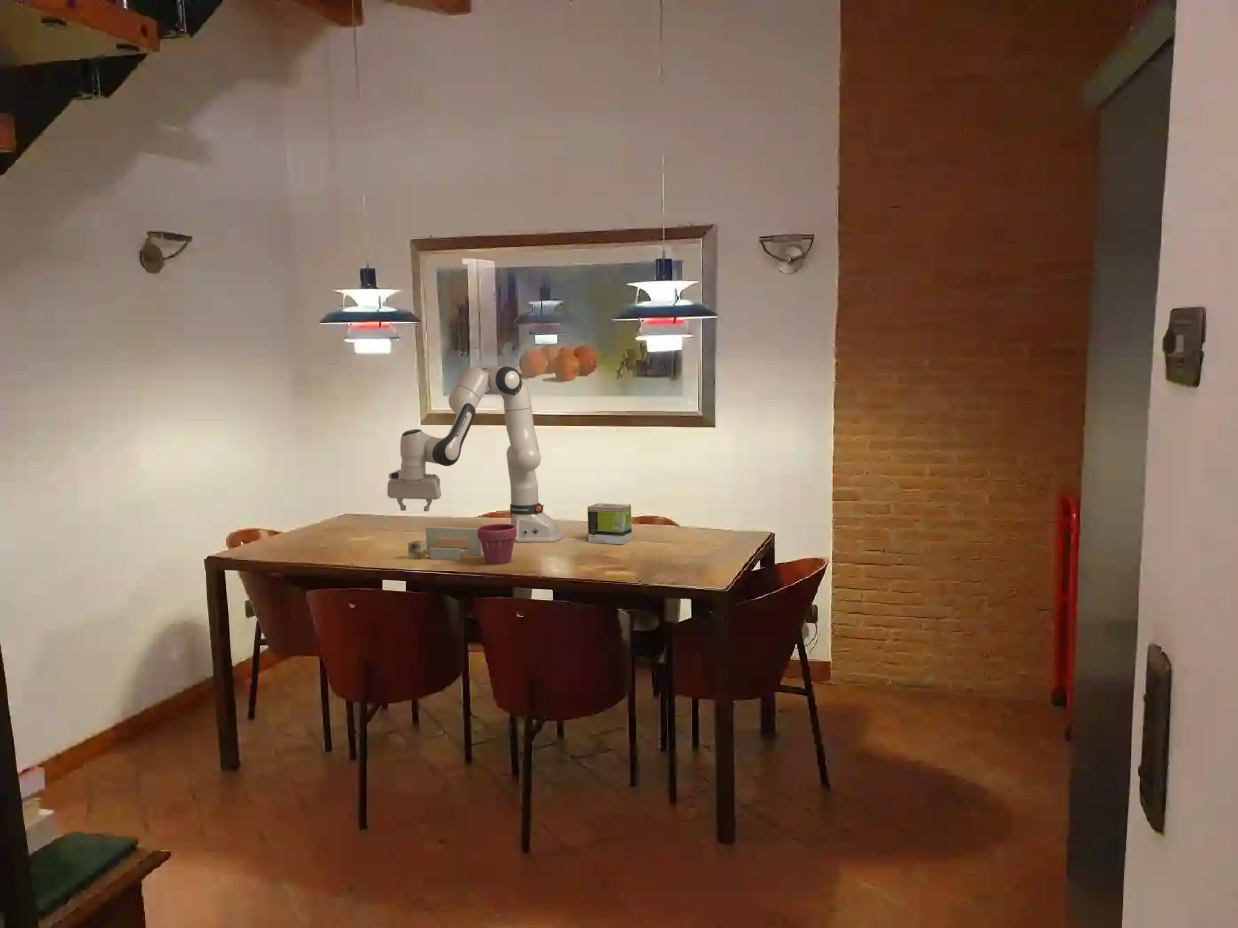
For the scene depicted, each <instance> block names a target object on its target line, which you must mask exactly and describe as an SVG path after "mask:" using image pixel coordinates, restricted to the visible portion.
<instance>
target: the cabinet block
mask: <svg viewBox="0 0 1238 928" xmlns="http://www.w3.org/2000/svg"><path fill="white" fill-rule="evenodd" d="M407 551H408V553H407V554H408V560H423V559H425V558H427V547H426V540H412V541H410V542H408V543H407Z"/></svg>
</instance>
